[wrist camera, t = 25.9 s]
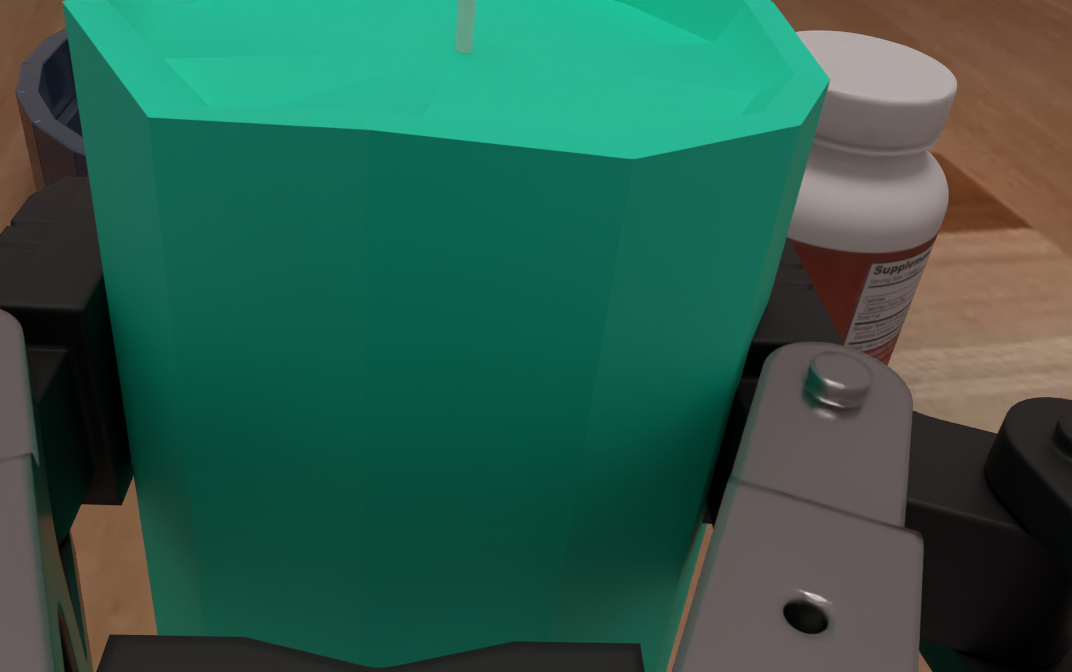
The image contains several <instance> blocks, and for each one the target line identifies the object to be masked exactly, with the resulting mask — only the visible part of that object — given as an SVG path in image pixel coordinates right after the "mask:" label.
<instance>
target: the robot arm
mask: <svg viewBox="0 0 1072 672" xmlns="http://www.w3.org/2000/svg"><path fill="white" fill-rule="evenodd" d="M802 266H803V264H802V262H801V260H800V258H799V256H798V254H797V252H796V250H795V248H794V246H793V245H792V243H791V241H790V239H789V238H787V237H786V241H785V245H784V248H783V252H782V255H781V259H780V263H779V266H778V270H777V273H776V277H775V281H774V284H773V288H772V291H771V295H770V299H769V301H768V304H767V306H766V308H765V310H764V313H763V315H762V317H761V320H760V322H759V324H758V327H757V329H756V331H755V334H754V336H753V338H752V341H751V344H750V347H749V351H748V355H747V358H746V362H745V366H744V369H743V373H742V377H741V380H740V382H739V384H738V387H737V390H736V393H735V397H734V401H733V405H732V408H731V412H730V416H729V419H728V423H727V427H726V431H725V434H724V438H723V442H722V446H721V449H720V453H719V457H718V461H717V464H716V468H715V472H714V475H713V479H712V483H711V487H710V490H709V494H708V498H707V502H706V503H707V505H706V509H705V513H704V517H703V520H702V523H706V524H712V525H713V529H714V530H713V533H712V536H711V540H710V543H709V547H708V550H707V553H706V557H705V560H704V564H703V567H702V570H701V574H700V577H699V581H698V584H697V587H696V591H695V594H694V598H693V601H692V604H691V608H690V611H689V615H688V618H687V621H686V625H685V628H684V632H683V635H682V638H681V642H680V645H679V649H678V652H677V655H676V659H675V662H674V665H673V669H672V672H918V659H919V651H920V653H921V655H922V656H923V658H924V659H925V661H926V662H927V664H928V665H929V667H930V668H931V670H932V671H933V672H1072V400H1067V399H1062V398H1051V397H1041V398H1032V399H1026V400H1024V401H1021V402H1018V403H1017V404H1015V405H1014V406H1012V407H1011V408H1010V410H1009V411H1008V412H1007V414H1006V416H1005V418H1004V421H1003V423H1002V425H1001V427H1000V429H999V432H998V434H996V433H992V432H988V431H984V430H980V429H976V428H972V427H968V426H964V425H960V424H956V423H952V422H948V421H944V420H940V419H936V418H933V417H930V416H926V415H923V414H921V413H918V412H915V411H913V400H912V395H911V393H910V390H909V388H908V387H907V385H906V384H905V382H904V381H903V380H902V379H901V378H900V376H899V375H898V374H897V373H895V372H894V371H893V370H892V369H891V368H890V367H888V366H887V365H885V364H884V363H882V362H881V361H879V360H877V359H875V358H873V357H872V356H870V355H868V354H865V353H863V352H860V351H858V350H855V349H852V348H849V347H846V346H845V345H844V344H843V342H842V340H841V338H840V336H839V334H838V332H837V330H836V328H835V326H834V324H833V322H832V320H831V318H830V316H829V314H828V312H827V311H826V309H825V307H824V305H823V303H822V301H821V299H820V297H819V295H818V293H817V291H816V290H813V283H812V281H811V279H810V278H809V276H808V274H807V272H806V270H805V269H802ZM133 475H134V473H133V466H132V460H131V453H130V447H129V440H128V433H127V427H126V420H125V413H124V407H123V400H122V393H121V387H120V380H119V373H118V367H117V360H116V354H115V347H114V340H113V334H112V327H111V320H110V314H109V307H108V300H107V294H106V287H105V281H104V274H103V267H102V261H101V254H100V247H99V241H98V234H97V227H96V221H95V214H94V208H93V201H92V194H91V188H90V181H89V174H87V176H86V177H75V176H65V177H63V178H61V179H59V180H58V181H56V182H54V183H52V184H51V185H49V186H47V187H45V188H44V189H42V190H40V191H38V192H36V193H35V194H33V195H31V196H30V197H29V198H28V199H27V200H26V202H25V203H24V204H23V206H22V207H21V208H20V210H19V211H18V212H17V213H16V215H15V216H14V217H13V219H12V220H11V226H6V228H5V229H4V230H3V232H2V233H1V234H0V672H93V666H92V660H91V653H90V646H89V639H88V633H87V626H86V619H85V612H84V606H83V599H82V592H81V585H80V579H79V572H78V565H77V558H76V551H75V547H74V543H73V539H72V535H71V530H70V529H71V526H72V524H73V522H74V520H75V517H76V515H77V513H78V510H79V508H80V506H81V504H93V505H122V503H123V501H124V498H125V496H126V493H127V490H128V488H129V485H130V483H131V480H132V478H133ZM97 672H645V670H644V664H643V658H642V652H641V645H640V643H583V642H523V641H514V642H509V643H504V644H499V645H495V646H490V647H485V648H480V649H475V650H470V651H465V652H460V653H456V654H451V655H446V656H441V657H436V658H431V659H426V660H422V661H417V662H412V663H407V664H402V665H397V666H392V667H384V668H381V667H368V666H363V665H359V664H355V663H351V662H347V661H342V660H338V659H334V658H330V657H326V656H322V655H318V654H313V653H309V652H305V651H301V650H297V649H293V648H289V647H285V646H280V645H276V644H272V643H268V642H264V641H260V640H256V639H252V638H247V637H222V636H161V635H109V638H108V641H107V644H106V646H105V649H104V652H103V655H102V658H101V660H100V663H99V666H98V669H97Z"/></svg>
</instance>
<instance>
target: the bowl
mask: <svg viewBox="0 0 1072 672" xmlns="http://www.w3.org/2000/svg"><path fill="white" fill-rule="evenodd" d="M16 97H17V102H18V107H19V111H20V116H21V121H22V125H23V130H24V135H25V139H26V144H27V149H28V152H29V158H30V163H31V168H32V172H33V177H34V182H35V186H36V191H37V192H38V191H40V190H42V189H44V188H45V187H47V186H49V185H51V184H52V183H54V182H56V181H58V180H59V179H61V178H63V177H65V176H75V177H86V176H87V174H88V168H87V161H86V154H85V148H84V141H83V135H82V128H81V121H80V115H79V108H78V101H77V95H76V88H75V81H74V75H73V68H72V62H71V55H70V48H69V42H68V35H67V28H65V29H63V30H61V31H59V32H57V33H56V34H54V35H52V36H50V37H48V38H47V39H45V40H44V41H43V42H42V43H41V44H40V46H39V47H38V48H37V49H36V50H35V51H34V52H33V53H32V54H31V55H30V56H29V57H28V58H27V59H26V60H25V61H24V62H23V63H22V64H21V69H20V74H19V79H18V83H17V88H16Z"/></svg>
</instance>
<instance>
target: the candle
mask: <svg viewBox="0 0 1072 672" xmlns="http://www.w3.org/2000/svg"><path fill="white" fill-rule="evenodd" d="M63 8H64V15H65V22H66V28H67V35H68V42H69V48H70V55H71V62H72V68H73V75H74V81H75V88H76V95H77V101H78V108H79V115H80V121H81V128H82V135H83V141H84V148H85V154H86V161H87V168H88V174H89V181H90V188H91V194H92V201H93V208H94V214H95V221H96V227H97V234H98V241H99V247H100V254H101V261H102V267H103V274H104V281H105V287H106V294H107V300H108V307H109V314H110V320H111V327H112V334H113V340H114V347H115V354H116V360H117V367H118V373H119V380H120V387H121V393H122V400H123V407H124V413H125V420H126V427H127V433H128V440H129V447H130V453H131V460H132V466H133V473H134V480H135V486H136V493H137V500H138V506H139V513H140V520H141V526H142V533H143V539H144V546H145V553H146V559H147V566H148V573H149V579H150V586H151V593H152V599H153V606H154V612H155V619H156V626H157V632H158V635H161V636H222V637H247V638H252V639H256V640H260V641H264V642H268V643H272V644H276V645H280V646H285V647H289V648H293V649H297V650H301V651H305V652H309V653H313V654H318V655H322V656H326V657H330V658H334V659H338V660H342V661H347V662H351V663H355V664H359V665H363V666H368V667H381V668H384V667H392V666H397V665H402V664H407V663H412V662H417V661H422V660H426V659H431V658H436V657H441V656H446V655H451V654H456V653H460V652H465V651H470V650H475V649H480V648H485V647H490V646H495V645H499V644H504V643H509V642H514V641H523V642H583V643H640V645H641V652H642V658H643V664H644V670H645V672H666V670H667V666H668V662H669V659H670V655H671V652H672V648H673V644H674V641H675V637H676V634H677V630H678V626H679V623H680V619H681V616H682V612H683V608H684V605H685V601H686V598H687V594H688V590H689V587H690V583H691V580H692V576H693V572H694V569H695V565H696V562H697V558H698V554H699V551H700V547H701V544H702V540H703V536H704V533H705V529H706V526H707V524H706V523H702V520H703V517H704V513H705V509H706V505H707V503H706V502H707V498H708V494H709V490H710V487H711V483H712V479H713V475H714V472H715V468H716V464H717V461H718V457H719V453H720V449H721V446H722V442H723V438H724V434H725V431H726V427H727V423H728V419H729V416H730V412H731V408H732V405H733V401H734V397H735V393H736V390H737V387H738V384H739V382H740V380H741V377H742V373H743V369H744V366H745V362H746V358H747V355H748V351H749V347H750V344H751V341H752V338H753V336H754V334H755V331H756V329H757V327H758V324H759V322H760V320H761V317H762V315H763V313H764V310H765V308H766V306H767V304H768V301H769V299H770V295H771V291H772V288H773V284H774V281H775V277H776V273H777V270H778V266H779V263H780V259H781V255H782V252H783V248H784V245H785V241H786V237H787V234H788V230H789V227H790V223H791V219H792V216H793V212H794V209H795V205H796V201H797V198H798V194H799V191H800V187H801V183H802V180H803V176H804V173H805V169H806V165H807V162H808V158H809V155H810V151H811V147H812V144H813V140H814V137H815V133H816V129H817V126H818V122H819V119H820V115H821V111H822V108H823V104H824V101H825V97H826V93H827V90H828V86H829V83H830V78H829V77H828V76H827V74H826V73H825V71H824V70H823V69H822V67H821V66H820V65H819V63H818V62H817V61H816V59H815V58H814V57H813V55H812V54H811V53H810V51H809V50H808V49H807V47H806V46H805V45H804V43H803V42H802V40H801V39H800V38H799V36H798V35H797V34H796V32H795V31H794V30H793V28H792V27H791V26H790V24H789V23H788V22H787V20H786V19H785V18H784V16H783V15H782V14H781V12H780V11H779V9H778V8H777V7H776V5H775V4H774V3H773V2H772V1H770V0H66V1H63Z"/></svg>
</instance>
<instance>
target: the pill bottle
mask: <svg viewBox="0 0 1072 672" xmlns="http://www.w3.org/2000/svg"><path fill="white" fill-rule="evenodd" d="M796 34H797V35H798V36H799V38H800V39H801V40H802V42H803V43H804V45H805V46H806V47H807V49H808V50H809V51H810V53H811V54H812V55H813V57H814V58H815V59H816V61H817V62H818V63H819V65H820V66H821V67H822V69H823V70H824V71H825V73H826V74H827V76H828V77H829V78H830V83H829V86H828V90H827V93H826V97H825V101H824V104H823V108H822V111H821V115H820V119H819V122H818V126H817V129H816V133H815V137H814V140H813V144H812V147H811V151H810V155H809V158H808V162H807V165H806V169H805V173H804V176H803V180H802V183H801V187H800V191H799V194H798V198H797V201H796V205H795V209H794V212H793V216H792V219H791V223H790V227H789V230H788V234H787V238H789V239H790V241H791V243H792V245H793V246H794V248H795V250H796V252H797V254H798V256H799V258H800V260H801V262H802V264H803V266H802V269H805V270H806V272H807V274H808V276H809V278H810V279H811V281H812V283H813V290H816V291H817V293H818V295H819V297H820V299H821V301H822V303H823V305H824V307H825V309H826V311H827V312H828V314H829V316H830V318H831V320H832V322H833V324H834V326H835V328H836V330H837V332H838V334H839V336H840V338H841V340H842V342H843V344H844V345H845V346H846V347H849V348H852V349H855V350H858V351H860V352H863V353H865V354H868V355H870V356H872V357H873V358H875V359H877V360H879V361H881V362H882V363H884V364H885V365H888V363H889V360H890V357H891V355H892V352H893V350H894V347H895V344H896V342H897V339H898V336H899V334H900V331H901V328H902V326H903V323H904V320H905V318H906V315H907V313H908V310H909V307H910V304H911V302H912V299H913V297H914V294H915V291H916V289H917V286H918V284H919V281H920V278H921V276H922V273H923V270H924V268H925V265H926V262H927V260H928V258H929V255H930V252H931V250H932V247H933V245H934V242H935V240H936V237H937V234H938V232H939V229H940V227H941V223H942V221H943V218H944V215H945V212H946V209H947V204H948V186H947V181H946V178H945V175H944V173H943V171H942V169H941V167H940V165H939V164H938V162H937V161H936V159H935V158H934V157H933V156H932V154H931V153H930V152H929V151H927V150H929V149H930V148H932V147H933V146H935V145H936V144H937V142H938V141H939V139H940V137H941V132H942V131H943V128H944V126H945V123H946V120H947V118H948V115H949V112H950V109H951V106H952V103H953V100H954V97H955V94H956V90H957V82H956V79H955V77H954V75H953V74H952V72H951V71H950V70H949V69H947V68H946V67H945V66H944V65H942V64H941V63H939V62H938V61H936V60H935V59H933V58H931V57H929V56H927V55H925V54H923V53H921V52H919V51H917V50H914V49H912V48H909V47H906V46H904V45H900V44H897V43H894V42H890V41H887V40H883V39H879V38H875V37H870V36H866V35H861V34H855V33H847V32H839V31H802V32H796Z"/></svg>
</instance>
